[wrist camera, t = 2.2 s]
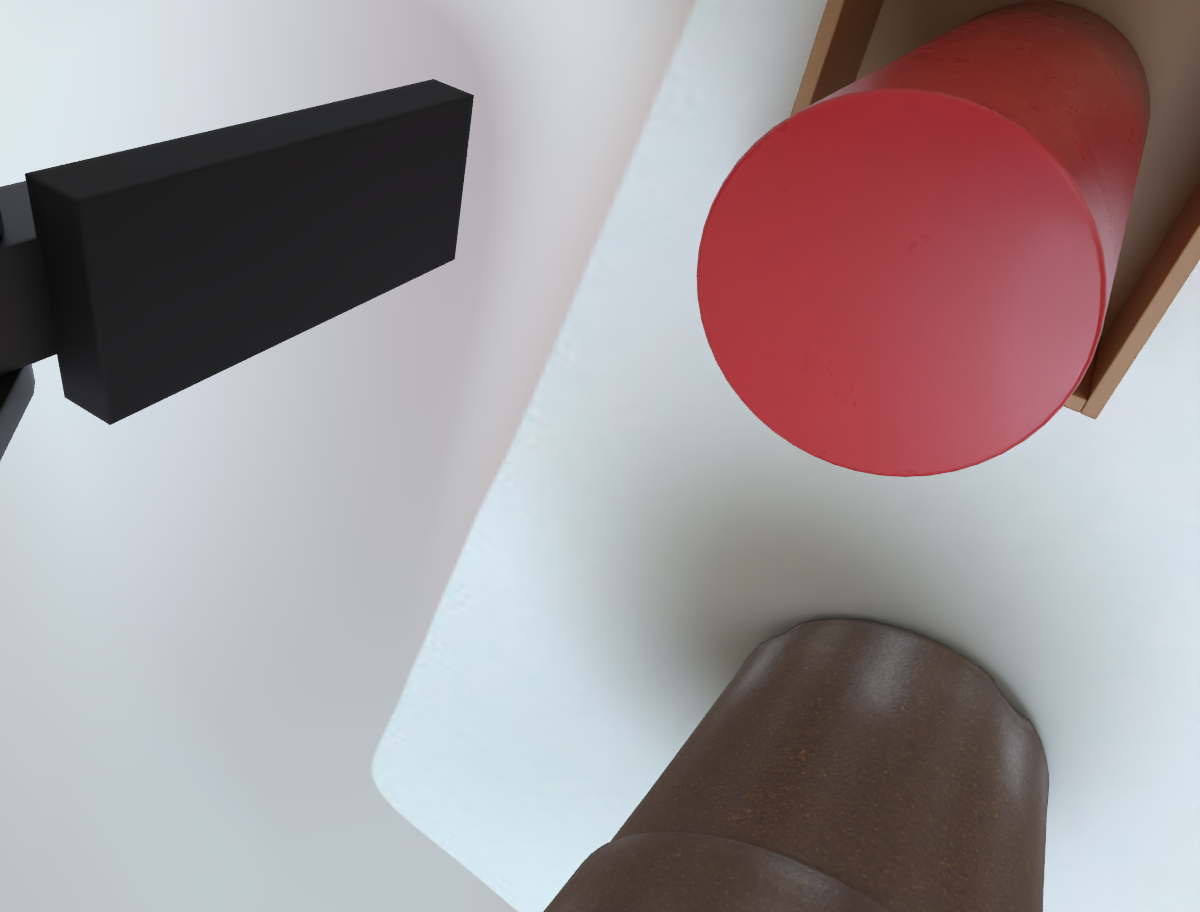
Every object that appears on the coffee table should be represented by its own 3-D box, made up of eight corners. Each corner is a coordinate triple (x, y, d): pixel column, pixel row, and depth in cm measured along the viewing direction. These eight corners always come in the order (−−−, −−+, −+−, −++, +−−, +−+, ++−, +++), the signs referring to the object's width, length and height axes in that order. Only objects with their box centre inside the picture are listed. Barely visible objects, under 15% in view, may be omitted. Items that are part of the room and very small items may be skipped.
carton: (919, -136, 23) (872, -142, 20) (1345, -23, 20) (1372, -7, 17) (793, 226, 29) (740, 269, 26) (1108, 354, 26) (1095, 420, 23)
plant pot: (1112, 945, 36) (1067, 1478, 24) (728, 837, 44) (552, 1188, 32) (1120, 598, 29) (1063, 1092, 17) (667, 550, 38) (417, 857, 26)
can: (957, -31, 23) (759, 29, 13) (1203, 43, 22) (1206, 181, 11) (868, 194, 27) (657, 383, 16) (1074, 272, 25) (983, 539, 15)
